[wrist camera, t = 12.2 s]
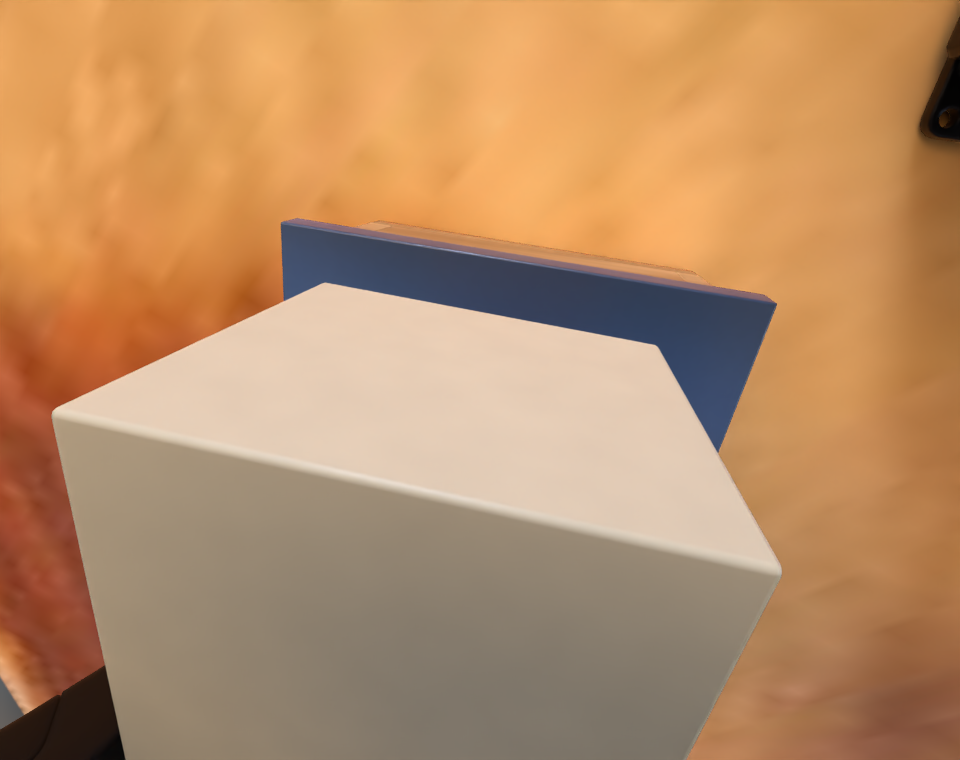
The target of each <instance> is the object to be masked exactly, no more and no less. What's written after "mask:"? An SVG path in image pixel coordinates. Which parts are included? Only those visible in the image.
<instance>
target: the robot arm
mask: <svg viewBox="0 0 960 760" xmlns="http://www.w3.org/2000/svg"><path fill="white" fill-rule="evenodd" d="M947 52H948V58H947V61H946V63H945V65H944V67H943V70H942V72H941V74H940V77H939V79H938V81H937V83H936V86H935V88H934V90H933V93H932V95H931V97H930V99H929V102H928V104H927V106H926V109H925V111H924V113H923V116H922V118H921V122H920V128H921V132H922V133H923V134H924V135H925V136H927V137H929V138H933V139H941V140H948V141H956V142H960V17H959V19H958V22H957V24H956V26H955V29H954V31H953V33H952V35H951V38H950V40H949V42H948V45H947ZM944 111H948V113H949V115H950V118H949V121H948V123H947V124H946V125H945V126H944V127H941V126H940V124H939V117H940V116H941V114H942V113H943V112H944ZM0 760H126V759H125V755H124V750H123V745H122V741H121V736H120V731H119V727H118V722H117V718H116V713H115V708H114V704H113V699H112V694H111V690H110V685H109V680H108V676H107V671H106V667H105V666H103V667H102V668H100V669H98V670H97V671H95V672H94V673H92V674H90V675H89V676H87V677H85V678H84V679H82V680H81V681H79V682H77V683H76V684H74V685H73V686H71V687H69V688H68V689H66V690H65V691H63V693H62V695H61V696H60V695H56V696H55V697H53V698H51V699H50V700H48V701H46V702H45V703H43V704H42V705H40V706H38V707H37V708H35V709H34V710H32V711H30V712H29V713H27V714H25V715H24V716H22V717H20V718H19V719H17V720H16V721H14V722H12V723H10V724H9V725H7V726H5V727H4V728H2V729H0Z"/></svg>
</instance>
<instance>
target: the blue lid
mask: <svg viewBox="0 0 960 760" xmlns="http://www.w3.org/2000/svg"><path fill="white" fill-rule="evenodd" d="M281 240H282V266H283V292H284V301H286V300H288V299H290V298H292V297H294V296H296V295H299V294H301V293H303V292H305V291H307V290H309V289H311V288H314V287H316V286H318V285H320V284H322V283H330V284H335V285H341V286H346V287H351V288H357V289H362V290H367V291H372V292H378V293H383V294H388V295H394V296H399V297H404V298H409V299H415V300H420V301H425V302H431V303H436V304H441V305H446V306H452V307H457V308H462V309H467V310H473V311H478V312H483V313H489V314H494V315H499V316H504V317H510V318H515V319H520V320H526V321H531V322H536V323H541V324H547V325H552V326H557V327H563V328H568V329H573V330H578V331H584V332H589V333H594V334H599V335H605V336H610V337H615V338H621V339H626V340H631V341H636V342H642V343H647V344H652V345H656V346H657V347H658V348H659V350H660V351H661V353H662V355H663V357H664V359H665V360H666V362H667V364H668V366H669V367H670V369H671V371H672V373H673V375H674V376H675V378H676V380H677V382H678V383H679V385H680V387H681V389H682V391H683V392H684V394H685V396H686V398H687V399H688V401H689V403H690V405H691V407H692V408H693V410H694V412H695V414H696V415H697V417H698V419H699V421H700V422H701V424H702V426H703V428H704V430H705V431H706V433H707V435H708V437H709V438H710V440H711V442H712V444H713V446H714V447H715V449H716V451H717V453H718V452H719V449H720V447H721V444H722V442H723V439H724V437H725V434H726V432H727V429H728V427H729V424H730V422H731V419H732V417H733V414H734V412H735V409H736V407H737V404H738V402H739V399H740V397H741V394H742V392H743V389H744V387H745V384H746V381H747V379H748V376H749V374H750V371H751V369H752V366H753V364H754V361H755V359H756V356H757V354H758V351H759V349H760V346H761V344H762V341H763V339H764V336H765V334H766V331H767V329H768V326H769V324H770V321H771V319H772V316H773V314H774V311H775V309H776V306H777V303H775V302H774V301H772V300H771V299H770V298H768V297H767V296H765V295H763V294H757V293H751V292H745V291H739V290H732V289H726V288H720V287H714V286H708V285H702V284H696V283H690V282H684V281H677V280H671V279H665V278H659V277H653V276H647V275H641V274H635V273H629V272H622V271H616V270H610V269H604V268H598V267H592V266H586V265H580V264H574V263H567V262H561V261H555V260H549V259H543V258H537V257H531V256H525V255H519V254H512V253H506V252H500V251H494V250H488V249H482V248H476V247H470V246H464V245H457V244H451V243H445V242H439V241H433V240H427V239H421V238H415V237H409V236H403V235H396V234H390V233H384V232H378V231H372V230H366V229H360V228H354V227H348V226H341V225H335V224H329V223H323V222H317V221H311V220H305V219H299V218H296V219H292V220H288V221H283V222H281Z"/></svg>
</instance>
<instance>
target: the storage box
mask: <svg viewBox="0 0 960 760" xmlns="http://www.w3.org/2000/svg"><path fill="white" fill-rule="evenodd" d="M354 228H360V229H366V230H372V231H378V232H384V233H390V234H396V235H403V236H409V237H415V238H421V239H427V240H433V241H439V242H445V243H451V244H457V245H464V246H470V247H476V248H482V249H488V250H494V251H500V252H506V253H512V254H519V255H525V256H531V257H537V258H543V259H549V260H555V261H561V262H567V263H574V264H580V265H586V266H592V267H598V268H604V269H610V270H616V271H622V272H629V273H635V274H641V275H647V276H653V277H659V278H665V279H671V280H677V281H684V282H690V283H696V284H702V285H708V286H712V285H711V284H709V283H708V282H707V281H705V280H704V279H703V278H702V277H700V276H698V275H697V274H696V273H694V272H693V271H688V270H682V269H676V268H669V267H663V266H657V265H651V264H645V263H638V262H632V261H626V260H620V259H614V258H608V257H601V256H595V255H589V254H583V253H577V252H570V251H564V250H558V249H552V248H546V247H539V246H533V245H527V244H521V243H515V242H509V241H502V240H496V239H490V238H484V237H478V236H471V235H465V234H459V233H453V232H447V231H441V230H434V229H428V228H422V227H416V226H410V225H403V224H397V223H391V222H385V221H376V222H371V223H367V224H363V225H360V226H356V227H354Z"/></svg>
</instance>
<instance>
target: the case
mask: <svg viewBox="0 0 960 760" xmlns="http://www.w3.org/2000/svg"><path fill="white" fill-rule="evenodd" d="M51 417H52V421H53V426H54V431H55V435H56V440H57V444H58V449H59V454H60V458H61V463H62V468H63V472H64V477H65V481H66V486H67V491H68V495H69V500H70V505H71V509H72V514H73V519H74V523H75V528H76V532H77V537H78V542H79V546H80V551H81V556H82V560H83V565H84V569H85V574H86V579H87V583H88V588H89V593H90V597H91V602H92V606H93V611H94V616H95V620H96V625H97V630H98V634H99V639H100V643H101V648H102V653H103V657H104V662H105V667H106V671H107V676H108V680H109V685H110V690H111V694H112V699H113V704H114V708H115V713H116V718H117V722H118V727H119V731H120V736H121V741H122V745H123V750H124V755H125V759H126V760H686V759H687V757H688V755H689V753H690V751H691V749H692V748H693V746H694V744H695V742H696V740H697V738H698V736H699V734H700V732H701V730H702V728H703V726H704V724H705V723H706V721H707V719H708V717H709V715H710V713H711V711H712V709H713V707H714V705H715V703H716V701H717V699H718V698H719V696H720V694H721V692H722V690H723V688H724V686H725V684H726V682H727V680H728V678H729V676H730V674H731V673H732V671H733V669H734V667H735V665H736V663H737V661H738V659H739V657H740V655H741V653H742V651H743V649H744V648H745V646H746V644H747V642H748V640H749V638H750V636H751V634H752V632H753V630H754V628H755V626H756V624H757V623H758V621H759V619H760V617H761V615H762V613H763V611H764V609H765V607H766V605H767V603H768V601H769V599H770V598H771V596H772V594H773V592H774V590H775V588H776V586H777V584H778V582H779V580H780V578H781V574H782V568H781V564H780V563H779V561H778V559H777V557H776V556H775V554H774V552H773V550H772V548H771V547H770V545H769V543H768V541H767V540H766V538H765V536H764V534H763V533H762V531H761V529H760V527H759V525H758V524H757V522H756V520H755V518H754V517H753V515H752V513H751V511H750V509H749V508H748V506H747V504H746V502H745V501H744V499H743V497H742V495H741V493H740V492H739V490H738V488H737V486H736V485H735V483H734V481H733V479H732V477H731V476H730V474H729V472H728V470H727V469H726V467H725V465H724V463H723V462H722V460H721V458H720V456H719V454H718V453H717V451H716V449H715V447H714V446H713V444H712V442H711V440H710V438H709V437H708V435H707V433H706V431H705V430H704V428H703V426H702V424H701V422H700V421H699V419H698V417H697V415H696V414H695V412H694V410H693V408H692V407H691V405H690V403H689V401H688V399H687V398H686V396H685V394H684V392H683V391H682V389H681V387H680V385H679V383H678V382H677V380H676V378H675V376H674V375H673V373H672V371H671V369H670V367H669V366H668V364H667V362H666V360H665V359H664V357H663V355H662V353H661V351H660V350H659V348H658V347H657V346H656V345H652V344H647V343H642V342H636V341H631V340H626V339H621V338H615V337H610V336H605V335H599V334H594V333H589V332H584V331H578V330H573V329H568V328H563V327H557V326H552V325H547V324H541V323H536V322H531V321H526V320H520V319H515V318H510V317H504V316H499V315H494V314H489V313H483V312H478V311H473V310H467V309H462V308H457V307H452V306H446V305H441V304H436V303H431V302H425V301H420V300H415V299H409V298H404V297H399V296H394V295H388V294H383V293H378V292H372V291H367V290H362V289H357V288H351V287H346V286H341V285H335V284H330V283H322V284H320V285H318V286H316V287H314V288H311V289H309V290H307V291H305V292H303V293H301V294H299V295H296V296H294V297H292V298H290V299H288V300H286V301H284V302H281V303H279V304H277V305H275V306H273V307H271V308H269V309H267V310H264V311H262V312H260V313H258V314H256V315H254V316H252V317H249V318H247V319H245V320H243V321H241V322H239V323H237V324H234V325H232V326H230V327H228V328H226V329H224V330H222V331H219V332H217V333H215V334H213V335H211V336H209V337H207V338H204V339H202V340H200V341H198V342H196V343H194V344H192V345H190V346H187V347H185V348H183V349H181V350H179V351H177V352H175V353H172V354H170V355H168V356H166V357H164V358H162V359H160V360H157V361H155V362H153V363H151V364H149V365H147V366H145V367H142V368H140V369H138V370H136V371H134V372H132V373H130V374H128V375H125V376H123V377H121V378H119V379H117V380H115V381H113V382H110V383H108V384H106V385H104V386H102V387H100V388H98V389H95V390H93V391H91V392H89V393H87V394H85V395H83V396H80V397H78V398H76V399H74V400H72V401H70V402H68V403H66V404H63V405H61V406H59V407H57V408H56V409H55V410H54V411H53V412H52V416H51Z"/></svg>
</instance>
